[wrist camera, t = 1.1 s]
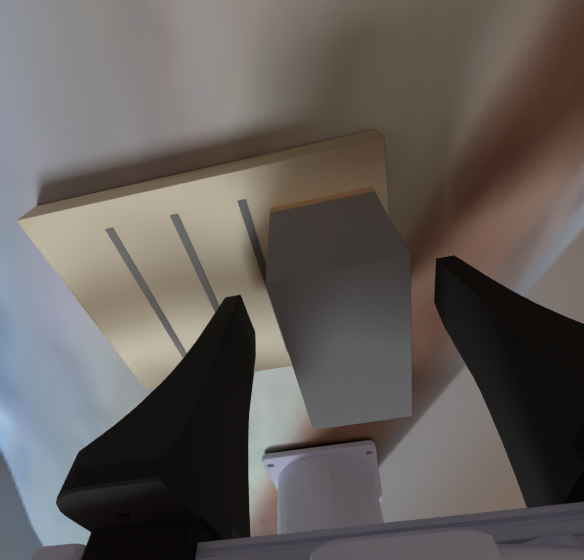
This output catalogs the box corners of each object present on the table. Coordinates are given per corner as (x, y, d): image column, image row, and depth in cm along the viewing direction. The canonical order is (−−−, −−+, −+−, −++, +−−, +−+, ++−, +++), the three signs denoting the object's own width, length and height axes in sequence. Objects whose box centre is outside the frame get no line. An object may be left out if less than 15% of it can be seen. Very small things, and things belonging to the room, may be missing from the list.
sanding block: (383, 329, 16) (412, 416, 12) (306, 341, 16) (313, 429, 13) (372, 186, 12) (410, 255, 8) (270, 207, 12) (265, 282, 9)
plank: (389, 331, 18) (395, 349, 17) (152, 370, 19) (145, 389, 18) (376, 129, 12) (384, 138, 11) (35, 206, 13) (16, 220, 12)
